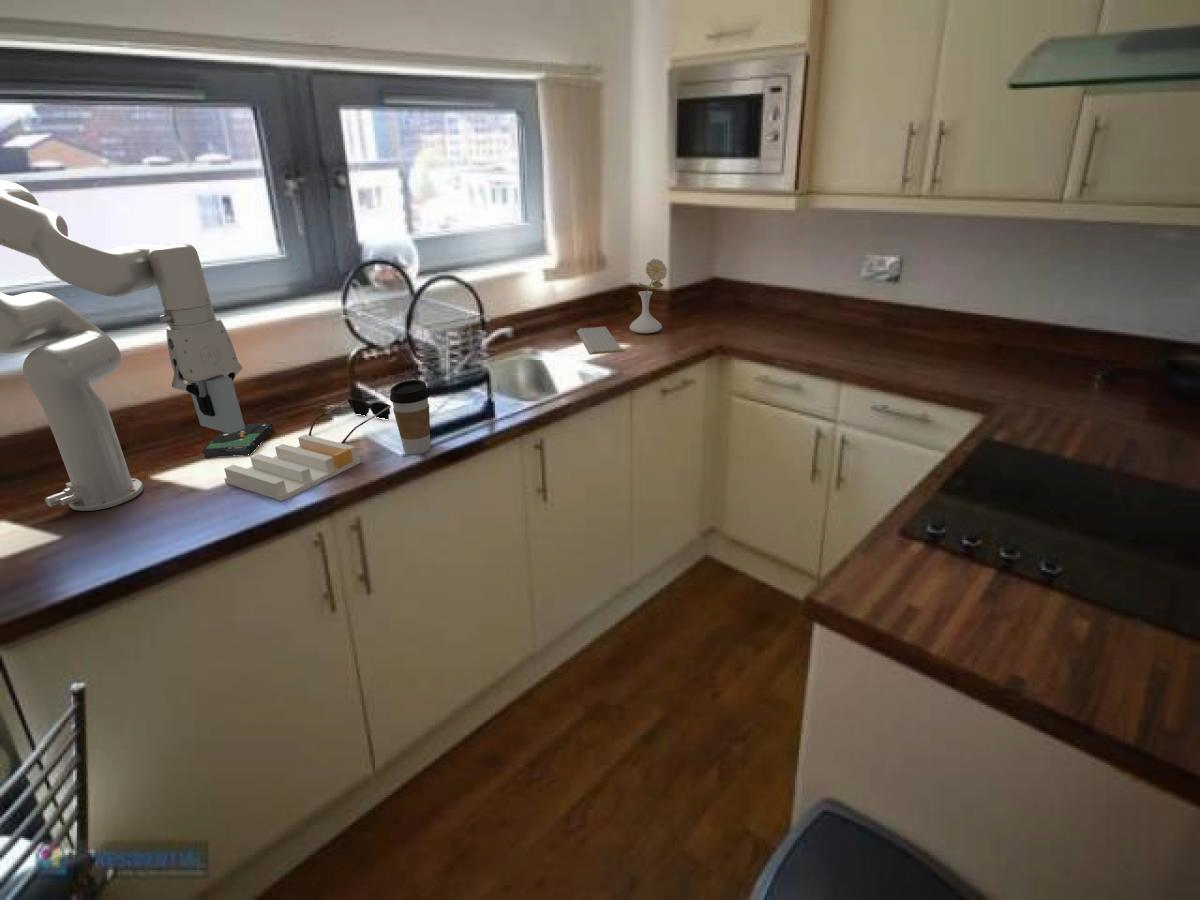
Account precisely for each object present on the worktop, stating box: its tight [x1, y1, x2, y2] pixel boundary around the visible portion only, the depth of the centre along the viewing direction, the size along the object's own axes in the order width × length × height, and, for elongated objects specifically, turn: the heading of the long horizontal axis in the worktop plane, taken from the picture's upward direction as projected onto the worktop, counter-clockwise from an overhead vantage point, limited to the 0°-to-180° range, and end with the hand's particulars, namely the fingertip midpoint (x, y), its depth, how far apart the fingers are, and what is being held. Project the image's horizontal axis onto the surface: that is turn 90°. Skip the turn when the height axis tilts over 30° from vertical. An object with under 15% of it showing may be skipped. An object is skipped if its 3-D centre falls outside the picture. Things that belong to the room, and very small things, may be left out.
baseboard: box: [574, 323, 623, 355], centre depth 238 cm, size 31×3×12 cm
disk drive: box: [202, 422, 274, 458], centre depth 165 cm, size 10×3×15 cm
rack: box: [223, 434, 362, 502], centre depth 149 cm, size 20×18×4 cm
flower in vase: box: [629, 258, 668, 334], centre depth 243 cm, size 13×11×25 cm
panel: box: [186, 376, 246, 434], centre depth 133 cm, size 3×10×10 cm, turn 58°
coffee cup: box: [389, 379, 432, 455], centre depth 156 cm, size 8×8×15 cm
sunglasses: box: [308, 397, 392, 444], centre depth 171 cm, size 14×16×5 cm
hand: (218, 410), depth 134 cm, fingers closed on panel, 3 cm apart
